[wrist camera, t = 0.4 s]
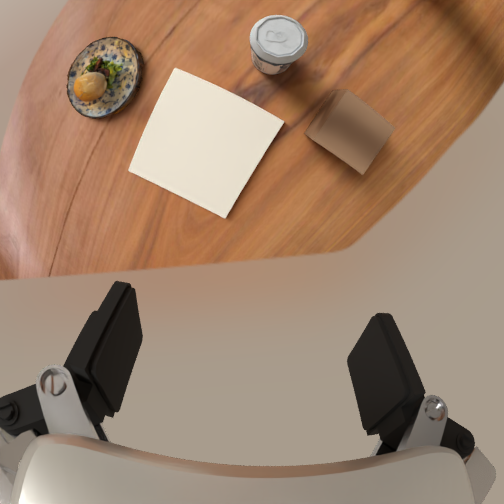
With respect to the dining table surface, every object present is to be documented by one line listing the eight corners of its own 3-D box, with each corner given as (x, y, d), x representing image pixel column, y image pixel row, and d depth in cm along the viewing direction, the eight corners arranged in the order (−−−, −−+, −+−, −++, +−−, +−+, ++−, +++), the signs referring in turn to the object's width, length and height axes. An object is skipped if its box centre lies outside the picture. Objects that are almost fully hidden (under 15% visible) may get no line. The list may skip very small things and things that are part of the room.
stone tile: (177, 68, 27) (175, 67, 26) (283, 120, 31) (284, 121, 30) (131, 168, 34) (128, 170, 33) (226, 215, 38) (225, 218, 37)
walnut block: (332, 90, 28) (347, 89, 23) (374, 121, 30) (395, 128, 25) (303, 133, 32) (313, 140, 27) (346, 162, 33) (362, 175, 28)
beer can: (289, 77, 28) (307, 66, 18) (249, 73, 28) (246, 59, 17) (293, 42, 25) (312, 16, 15) (253, 38, 25) (252, 9, 15)
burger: (155, 41, 25) (132, 30, 18) (132, 123, 31) (105, 131, 24) (83, 38, 23) (52, 34, 17) (66, 113, 29) (34, 121, 23)
